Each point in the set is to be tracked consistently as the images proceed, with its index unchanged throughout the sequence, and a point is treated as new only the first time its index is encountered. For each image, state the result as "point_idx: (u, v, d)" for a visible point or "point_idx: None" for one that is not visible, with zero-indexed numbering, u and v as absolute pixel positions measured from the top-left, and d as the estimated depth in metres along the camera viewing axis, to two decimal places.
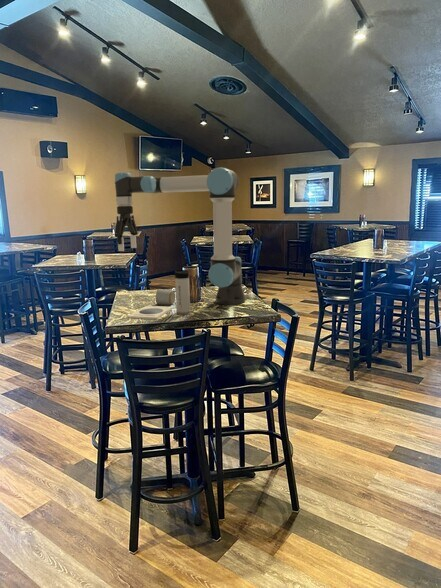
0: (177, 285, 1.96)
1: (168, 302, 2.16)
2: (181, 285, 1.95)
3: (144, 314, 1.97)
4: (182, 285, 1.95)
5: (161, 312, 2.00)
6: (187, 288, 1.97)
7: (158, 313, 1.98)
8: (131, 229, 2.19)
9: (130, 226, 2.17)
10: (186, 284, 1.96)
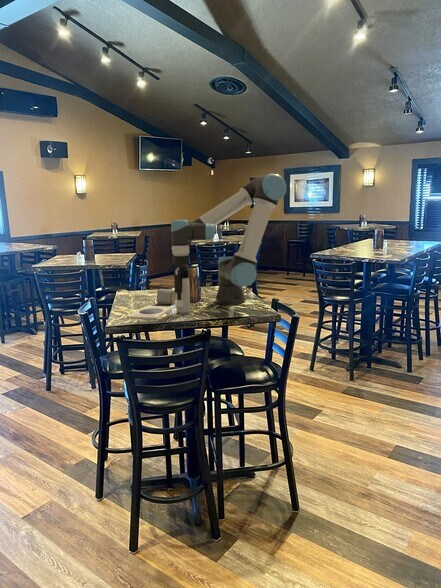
0: None
1: (169, 301, 2.17)
2: None
3: (144, 314, 1.97)
4: (182, 285, 1.95)
5: (161, 312, 2.00)
6: (187, 288, 1.97)
7: (158, 313, 1.98)
8: None
9: None
10: (186, 284, 1.96)
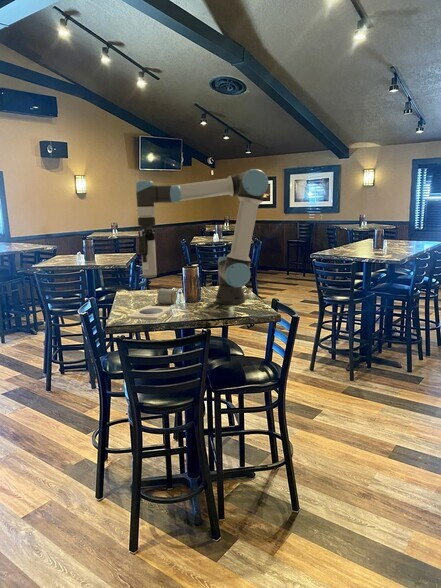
0: None
1: (170, 301, 2.17)
2: None
3: (144, 314, 1.97)
4: None
5: (161, 312, 2.00)
6: (153, 251, 1.95)
7: (158, 313, 1.98)
8: None
9: None
10: (152, 246, 1.94)
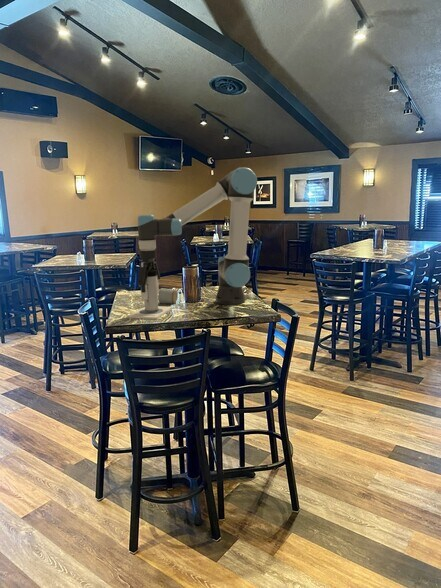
0: None
1: (171, 301, 2.18)
2: (149, 283, 1.97)
3: (144, 314, 1.97)
4: (149, 283, 1.97)
5: (161, 312, 2.00)
6: (155, 286, 1.98)
7: (158, 313, 1.98)
8: None
9: None
10: (154, 282, 1.97)
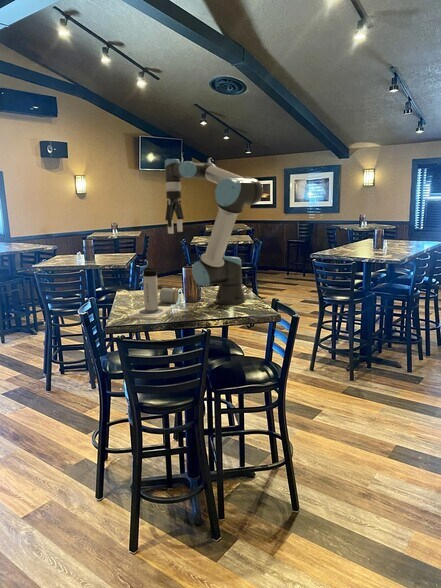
0: (145, 283, 1.98)
1: (172, 300, 2.20)
2: (149, 283, 1.97)
3: (144, 314, 1.97)
4: (149, 283, 1.97)
5: (161, 312, 2.00)
6: (155, 286, 1.98)
7: (158, 313, 1.98)
8: (178, 213, 2.30)
9: (177, 210, 2.29)
10: (154, 282, 1.98)
